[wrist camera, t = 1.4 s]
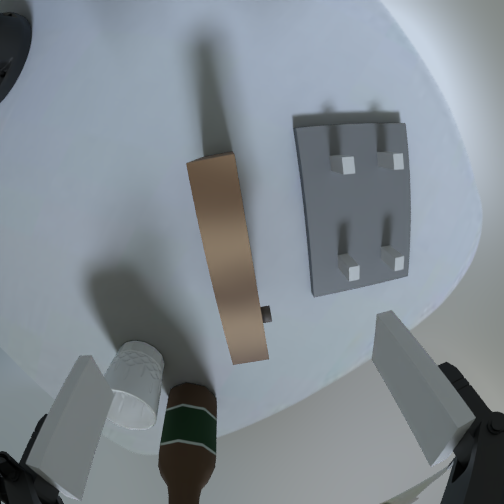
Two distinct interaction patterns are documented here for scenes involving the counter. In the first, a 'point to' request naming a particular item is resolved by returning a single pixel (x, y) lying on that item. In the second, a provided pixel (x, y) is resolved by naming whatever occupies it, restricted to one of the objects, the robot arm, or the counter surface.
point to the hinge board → (355, 203)
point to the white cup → (135, 385)
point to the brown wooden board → (229, 255)
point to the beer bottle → (188, 442)
